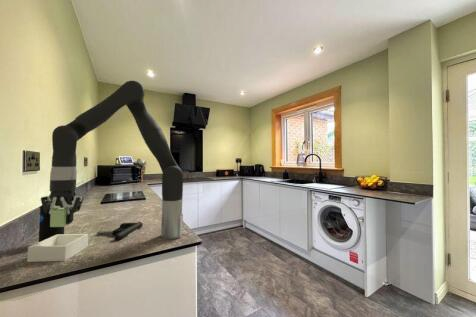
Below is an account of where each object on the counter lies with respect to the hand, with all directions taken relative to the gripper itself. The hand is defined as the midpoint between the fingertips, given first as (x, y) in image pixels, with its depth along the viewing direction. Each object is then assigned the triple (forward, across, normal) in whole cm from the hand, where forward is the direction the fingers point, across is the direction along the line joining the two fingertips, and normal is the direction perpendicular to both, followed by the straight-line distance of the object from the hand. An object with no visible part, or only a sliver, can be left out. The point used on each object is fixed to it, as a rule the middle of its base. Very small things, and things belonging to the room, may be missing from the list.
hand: (61, 223), depth 74 cm
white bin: (+11, 0, 0) cm, 11 cm away
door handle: (+12, -11, -22) cm, 27 cm away
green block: (+1, 0, 0) cm, 1 cm away
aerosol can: (+11, +10, -10) cm, 18 cm away
